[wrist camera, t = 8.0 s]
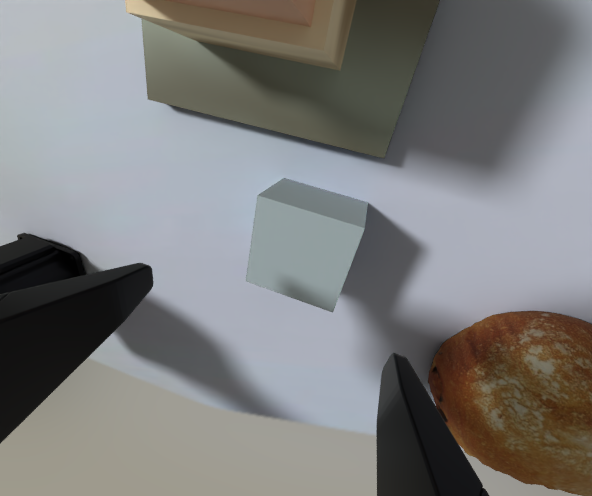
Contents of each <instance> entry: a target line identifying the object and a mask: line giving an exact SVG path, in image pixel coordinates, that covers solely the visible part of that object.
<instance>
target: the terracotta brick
mask: <svg viewBox="0 0 592 496" xmlns="http://www.w3.org/2000/svg"><path fill="white" fill-rule="evenodd" d="M165 1H171V2H176V3H182V4H187V5H193V6H199V7H204V8H210V9H215V10H221V11H226V12H232V13H237V14H243V15H249V16H254V17H260V18H265V19H271V20H276V21H282V22H287V23H293V24H298V25H304V26H310V27H311V24H312V18H313V12H314V7H315V1H316V0H165Z"/></svg>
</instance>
